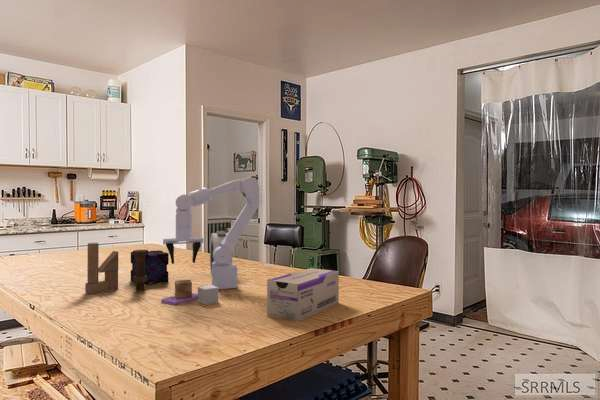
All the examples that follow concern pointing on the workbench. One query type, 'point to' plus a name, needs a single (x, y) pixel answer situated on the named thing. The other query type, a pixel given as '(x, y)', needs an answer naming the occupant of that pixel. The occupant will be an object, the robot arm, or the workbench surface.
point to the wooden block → (107, 266)
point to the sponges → (179, 301)
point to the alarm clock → (214, 242)
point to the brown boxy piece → (183, 289)
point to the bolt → (140, 269)
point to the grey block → (208, 294)
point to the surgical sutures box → (302, 293)
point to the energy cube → (153, 267)
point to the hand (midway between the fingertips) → (183, 262)
